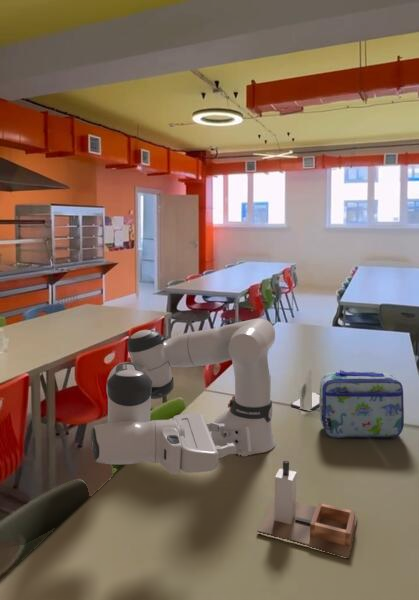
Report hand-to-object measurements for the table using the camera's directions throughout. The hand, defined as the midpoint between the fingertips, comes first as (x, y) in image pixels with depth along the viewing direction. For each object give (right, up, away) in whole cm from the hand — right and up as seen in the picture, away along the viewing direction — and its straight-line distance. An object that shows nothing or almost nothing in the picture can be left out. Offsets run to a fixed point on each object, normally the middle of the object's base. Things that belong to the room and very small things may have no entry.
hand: (230, 437), depth 104 cm
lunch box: (+45, -14, +51) cm, 69 cm away
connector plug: (+13, -20, +6) cm, 25 cm away
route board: (+18, -22, +4) cm, 29 cm away
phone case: (+34, -10, +77) cm, 85 cm away
